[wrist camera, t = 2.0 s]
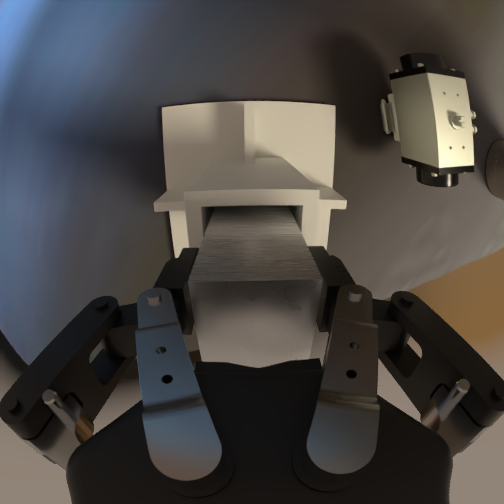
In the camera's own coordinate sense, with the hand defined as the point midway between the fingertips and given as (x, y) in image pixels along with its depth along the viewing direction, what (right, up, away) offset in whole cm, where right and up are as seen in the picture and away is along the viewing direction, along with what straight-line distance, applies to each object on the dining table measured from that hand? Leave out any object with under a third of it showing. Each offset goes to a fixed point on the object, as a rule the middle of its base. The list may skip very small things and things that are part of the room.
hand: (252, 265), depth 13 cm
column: (0, +7, +13) cm, 15 cm away
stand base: (0, +7, +15) cm, 17 cm away
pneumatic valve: (+16, +16, +12) cm, 25 cm away
